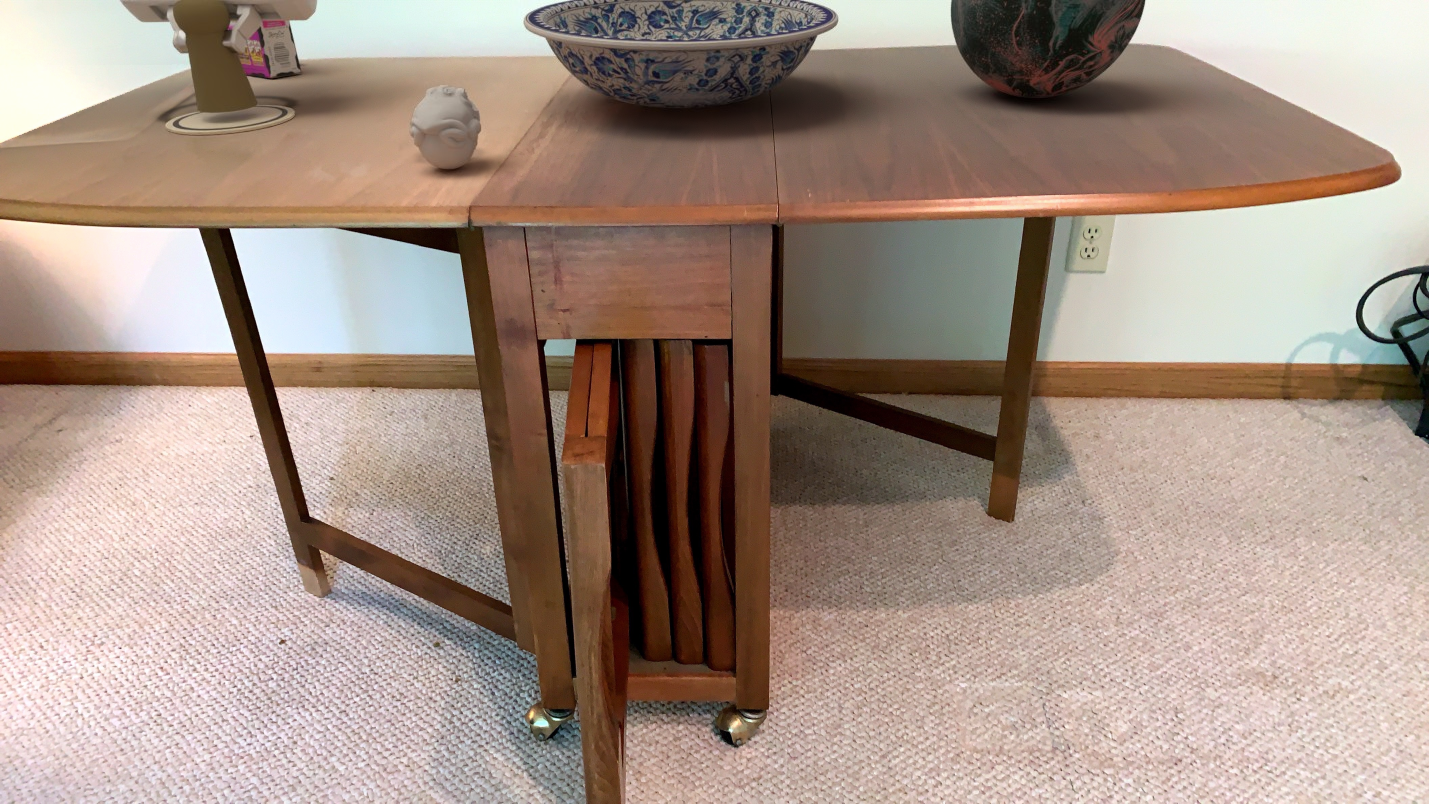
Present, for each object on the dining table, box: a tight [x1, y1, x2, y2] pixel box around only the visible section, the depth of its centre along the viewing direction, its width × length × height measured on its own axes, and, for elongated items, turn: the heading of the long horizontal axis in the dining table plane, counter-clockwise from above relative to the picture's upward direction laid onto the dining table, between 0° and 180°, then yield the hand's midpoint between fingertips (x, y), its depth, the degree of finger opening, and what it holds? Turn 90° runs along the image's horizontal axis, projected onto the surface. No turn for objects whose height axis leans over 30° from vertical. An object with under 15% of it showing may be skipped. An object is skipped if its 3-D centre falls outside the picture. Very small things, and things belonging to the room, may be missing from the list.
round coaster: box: [165, 104, 296, 136], centre depth 98 cm, size 13×13×1 cm
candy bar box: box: [228, 21, 302, 79], centre depth 119 cm, size 11×5×16 cm, turn 55°
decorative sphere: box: [950, 0, 1146, 99], centre depth 97 cm, size 20×20×20 cm
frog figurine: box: [409, 84, 482, 170], centre depth 79 cm, size 6×7×7 cm
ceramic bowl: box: [523, 0, 839, 109], centre depth 100 cm, size 34×34×10 cm
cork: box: [173, 0, 259, 113], centre depth 95 cm, size 6×6×11 cm
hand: (208, 50), depth 94 cm, fingers closed on cork, 4 cm apart
